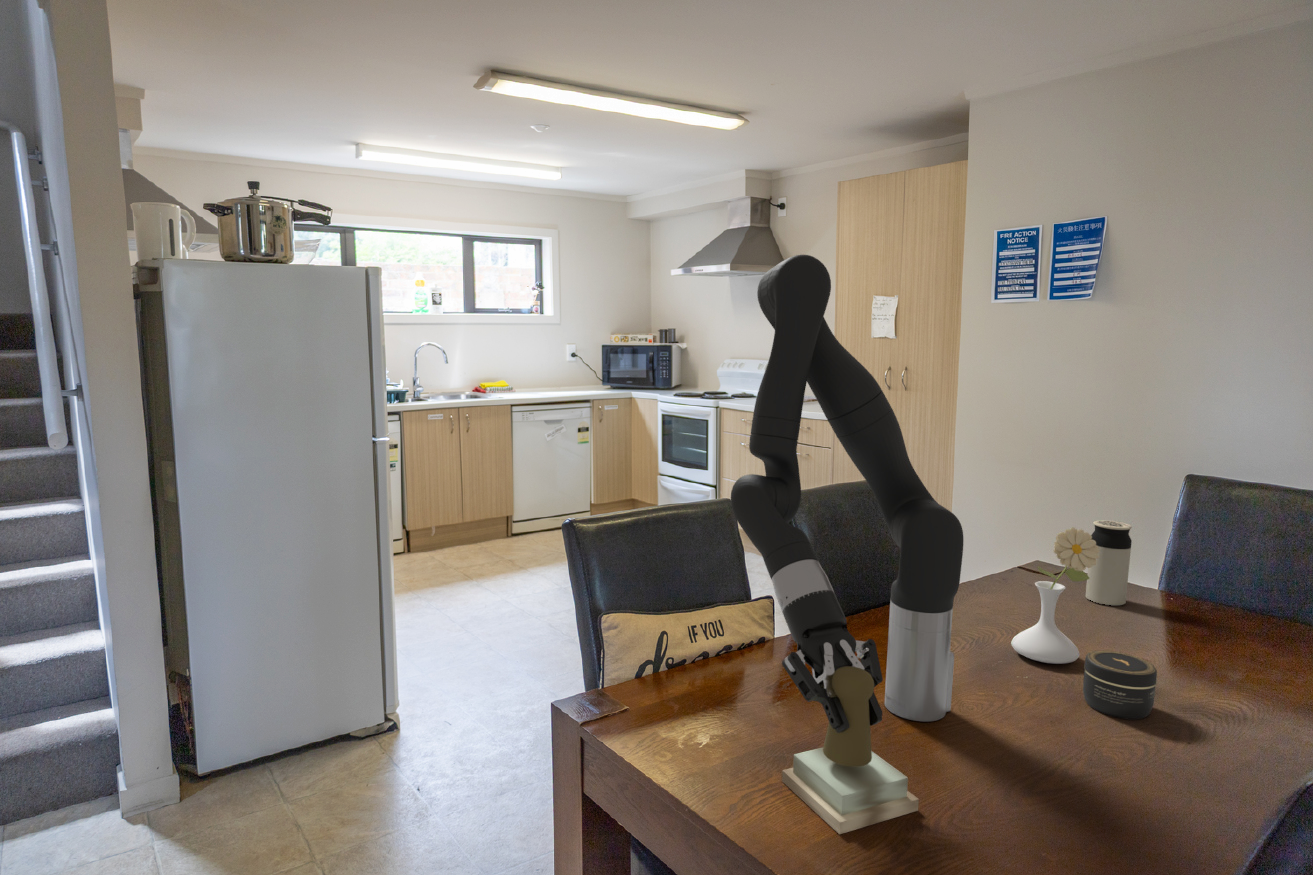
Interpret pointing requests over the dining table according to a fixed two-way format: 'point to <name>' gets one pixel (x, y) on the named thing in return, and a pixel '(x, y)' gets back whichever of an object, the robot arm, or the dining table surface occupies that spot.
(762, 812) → the dining table surface
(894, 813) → the plinth
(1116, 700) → the jar
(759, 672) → the dining table surface
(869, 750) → the cork
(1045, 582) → the flower in vase
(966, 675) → the dining table surface
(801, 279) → the robot arm
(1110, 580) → the travel mug
